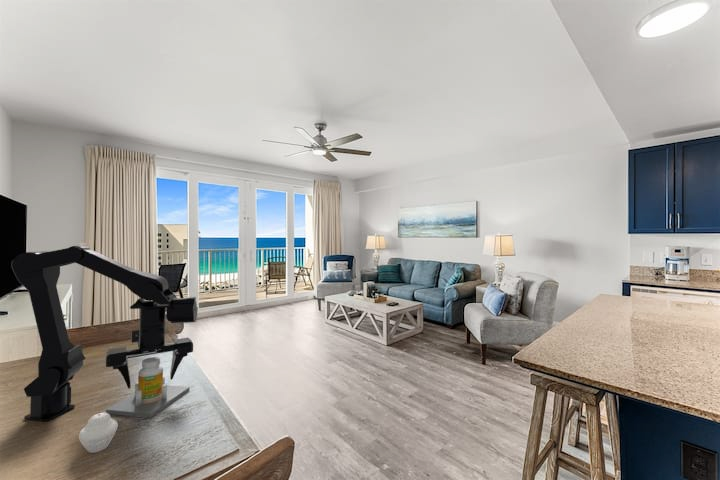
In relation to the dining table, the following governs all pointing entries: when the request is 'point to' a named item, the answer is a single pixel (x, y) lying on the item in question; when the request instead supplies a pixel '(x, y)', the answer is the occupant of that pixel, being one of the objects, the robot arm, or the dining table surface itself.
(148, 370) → the supplement bottle
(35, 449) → the dining table surface
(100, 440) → the white lump
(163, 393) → the pin tray
